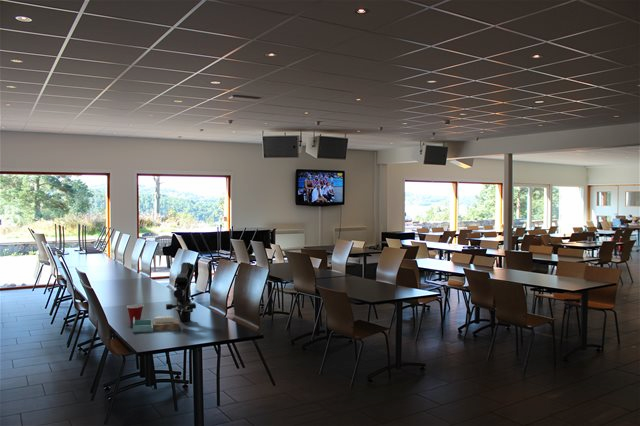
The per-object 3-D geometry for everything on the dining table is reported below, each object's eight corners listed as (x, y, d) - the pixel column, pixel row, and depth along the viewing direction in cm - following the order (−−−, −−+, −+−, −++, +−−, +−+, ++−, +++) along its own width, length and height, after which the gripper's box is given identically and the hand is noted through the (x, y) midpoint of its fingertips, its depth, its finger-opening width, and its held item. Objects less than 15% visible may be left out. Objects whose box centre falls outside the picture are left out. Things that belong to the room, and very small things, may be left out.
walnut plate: (177, 324, 354) (177, 318, 354) (179, 329, 339) (179, 323, 339) (152, 325, 349) (152, 319, 349) (153, 331, 334) (153, 324, 334)
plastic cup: (126, 321, 358) (126, 304, 358) (142, 320, 362) (143, 303, 362) (126, 325, 348) (126, 307, 348) (143, 324, 352) (144, 306, 351)
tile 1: (163, 320, 346) (163, 316, 346) (163, 322, 341) (163, 317, 341) (155, 321, 344) (155, 316, 344) (155, 322, 339) (155, 318, 339)
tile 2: (171, 320, 347) (172, 315, 347) (172, 322, 343) (172, 317, 343) (164, 320, 346) (164, 316, 346) (164, 322, 341) (164, 317, 341)
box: (152, 325, 350) (152, 316, 350) (153, 331, 333) (153, 322, 333) (133, 326, 346) (133, 316, 346) (132, 332, 329) (133, 323, 329)
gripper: (167, 298, 336) (166, 322, 336) (197, 297, 342) (196, 321, 342) (166, 295, 346) (165, 319, 347) (195, 294, 353) (194, 317, 353)
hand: (180, 319), depth 347 cm, fingers closed
